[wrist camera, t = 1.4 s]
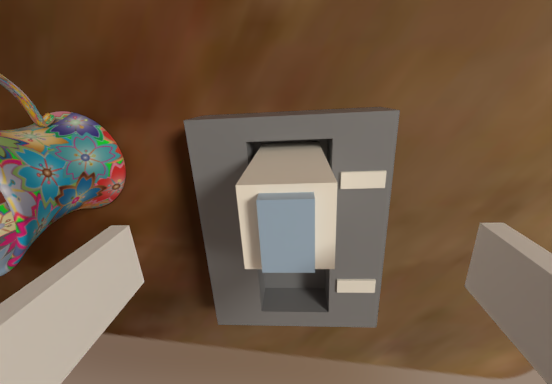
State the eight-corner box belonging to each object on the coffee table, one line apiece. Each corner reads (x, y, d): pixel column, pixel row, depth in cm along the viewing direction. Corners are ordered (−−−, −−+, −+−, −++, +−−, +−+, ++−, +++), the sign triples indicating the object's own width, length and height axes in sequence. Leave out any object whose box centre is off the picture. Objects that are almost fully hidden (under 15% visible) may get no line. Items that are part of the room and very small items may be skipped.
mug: (135, 216, 25) (32, 297, 15) (40, 196, 25) (-126, 263, 15) (136, 83, 21) (-7, 76, 11) (21, 59, 21) (-227, 28, 11)
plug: (265, 195, 22) (241, 279, 12) (262, 143, 21) (231, 191, 11) (318, 194, 22) (337, 280, 12) (318, 141, 21) (340, 189, 10)
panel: (228, 293, 28) (217, 326, 24) (203, 115, 21) (182, 120, 17) (365, 294, 27) (377, 329, 23) (380, 107, 20) (400, 110, 16)
